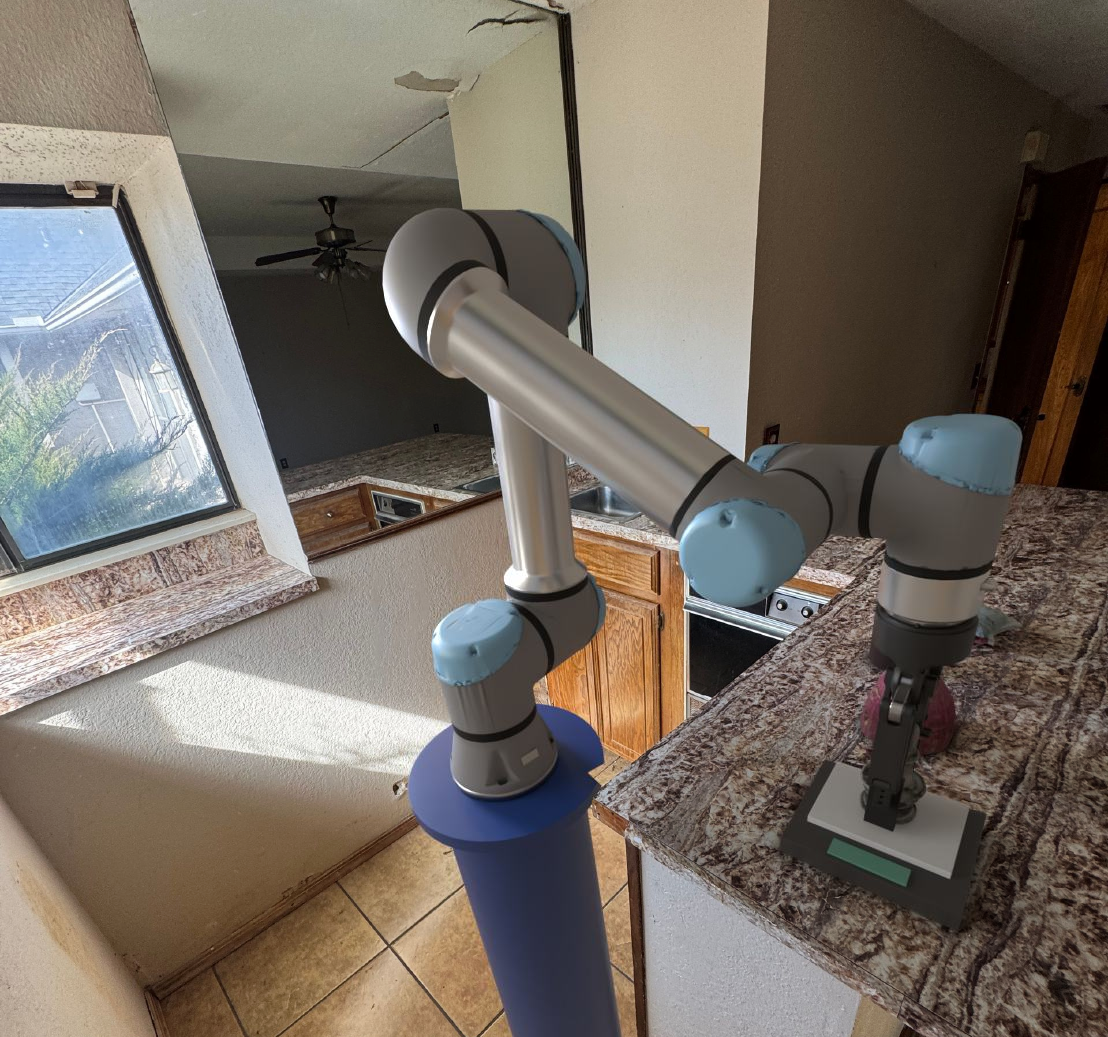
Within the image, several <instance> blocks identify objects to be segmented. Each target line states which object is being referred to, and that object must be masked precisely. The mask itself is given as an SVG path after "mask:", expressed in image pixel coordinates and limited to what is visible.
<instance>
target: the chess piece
mask: <svg viewBox="0 0 1108 1037" xmlns="http://www.w3.org/2000/svg"><path fill="white" fill-rule="evenodd" d="M919 735H920V729H919V726H918V725H917V724H916V727H915V731H914V735H913V739H912V743H911V747H910V751H909V755H908V759H907V763H906V767H905V771H904V775H903V778H904V779H905V782H904V787H903V792H902V796H901V801H900V806H899V810H898V815H897V819H896V824H895V825H899V824H906V823H909V822H911V821H913V820H914V818H915V817H916V814H917V808H916V805H915V803H916V802H917V801H918V800H919V799H920V798H921V797H923V795H924V794H925V793H926V791H927V789H928V788H927V783H926V781H925V779H924V778H923V776H922V774H920V773H919V772H918V771H917V770H915V769H913V766H914V762H916V763H917V762H918V760H919V759H920V756H921V755H920V754H919V751H918V750H917V744H918V739H919ZM865 767H868V768H869V767H870V762H867V763H865V764H864V765H863V766H862V768H860V769H861V772H860V777H861V780H862V782H863V786H864V788H865V789H864V790H863V791H862V792H861V794H860V797H859V800H860V804H861V806H862V808H863V809H864V811H865V808H866V802H867V797H868V791H869V785H867V783H866V781H867V780H866V777H867V776H864V775H862V772H863V770H864V768H865Z"/></svg>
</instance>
